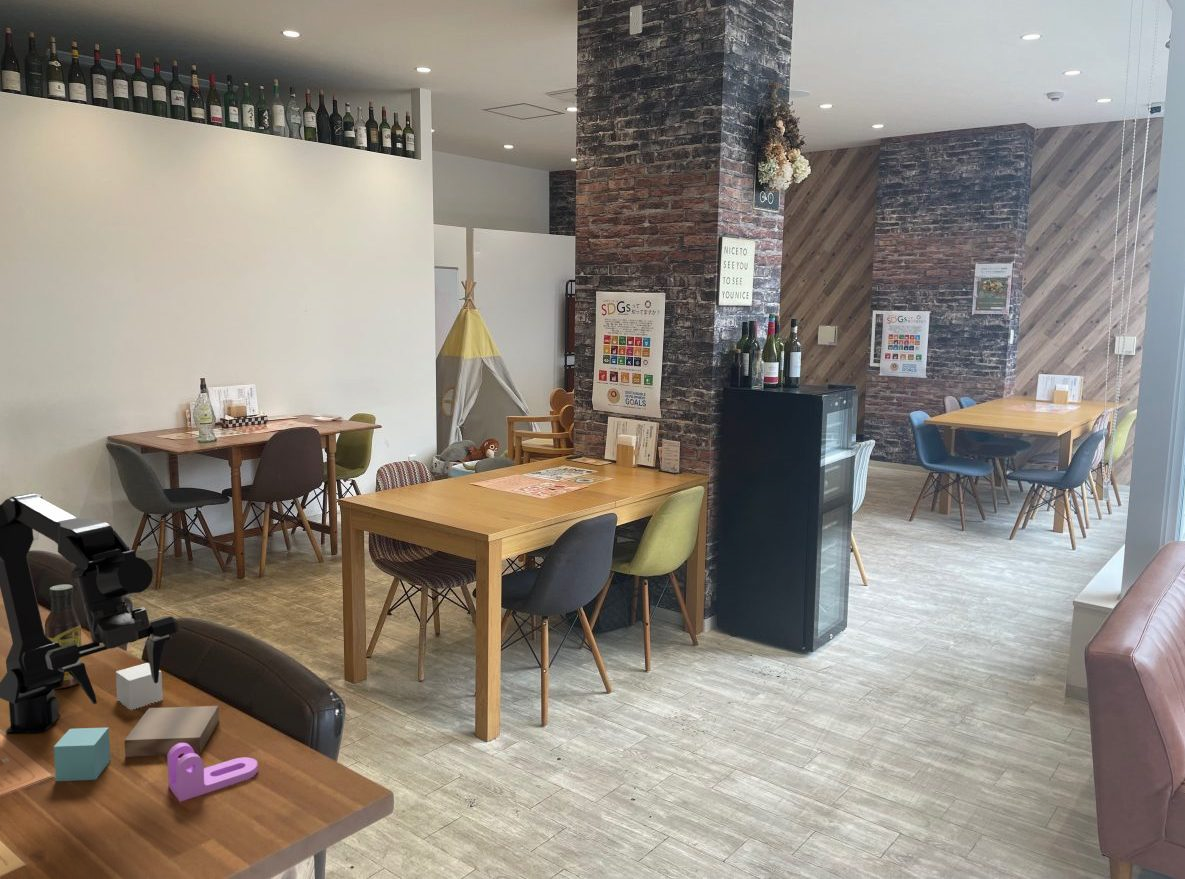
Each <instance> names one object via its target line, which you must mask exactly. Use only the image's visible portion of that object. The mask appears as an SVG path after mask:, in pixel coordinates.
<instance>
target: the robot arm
mask: <svg viewBox="0 0 1185 879" xmlns="http://www.w3.org/2000/svg"><path fill="white" fill-rule="evenodd" d="M33 530H34V531H36V532H38V533H39V534H40V535H43V536H44V537H46V538H47V539H50V540H52V541H53V542H54V543H56V544H57V553H58V554H60V555H61V557H62V558H64V559H65V560H66V561H68V562H69V563H70V564H72V565H74V566H75V567H74V569H73V570H71V573H70V575H69V577H70V579H71V580H73V579H77V583H78V587H79V592H80V595H81V600H82V603H83V607H84V612H85V616H86V620H87V624H88V629H89V632H90V637H91V640H92V642H88V643H86V644H81V646H78V647H77V645H76V644H70V645H66V646H63V647H61V646H60V645H59V643H58V642H56V643H53V642H52V641H51V640H50V639H49V638H47V637H46V636H45V628H44V626H43V621H42V618H41V617H42V616H41V613H40V609H39V604H38V603H39V602H38V600H37V595H36V591H35V590H36V589H35V586H34V582H33V576H32V573H31V568H30V564H29V560H28V554H29V552H30V550H31V548H32V544H34V532H33ZM153 576H154V574H153V569H152V566H150V564H149V563H148V562H147V561H146V560H145V559H143V558H141V557H138V556H137V555H136V550H134V549H133V550H132V549H130V546H129V545H128V544H127V543H126V542H125V541H124V540H123V539H122V538H121V536H120V535H119V534H118V533H117V531H116V530H115V529H114V527H113V526H112V525H110V523H107V522H105V521H101V520H98V519H88V518H78V517H76V516H75V515H73V514H70V512H67V511H65V510H64V509H62V508H60V507H58V506H57V505H54V504H52V503H51V502H48V501H46V499H44V498H43V496H42V495H41V494H40V493H33V492H32V493H31V492H30V493H27V494H20V495H13V496H9V498H7V499H5V500H4V501H3V502H2V503H0V592H1V593H0V594H1V597H2V598H1V599H2V601H3V602H2V603H3V606H4V610H5V614H6V619H7V624H8V627H9V633H10V635H11V641H12V645H11V647H10V650H9V652H8V655H7V657H6V659H5V665H6V673H5V674H4V676H3V677H2V679H1V680H0V699H1V700H3V701H6V702H8V709H9V710H8V711H9V724H10V726H8V727H7V729H6V730H5V733H6V734H23V733H24V734H25V733H44V732H46V731H47V730H48V729H50V727H52V725H53V724H54V723H55V722H56V721H57V720H58V719H59V718H60V717H61V714H60V712H59V702H58V697H57V695H55V690H56V688H59V689H61V688H60V687H62V685H63V680H64V675H65V672H68V673H69V674H70V675H71V676H72V677H73V678H74V679H75V680H76V681H77V682H78V683H77V684H78V685H79V686H80V687H81V689H82V690H83V691H84V693H85V695H87V697H88V699H89V700H90V702H91V703H92V704H93V705H97V704H98V701H97V697H96V692H95V691H94V688H93V685H92V683H91V680H90V678H89V676H88V672H87V670H86V664H85V663H84V662H82V663H80V657H82V658H83V657H84V658H85V657H86V656H89V655H94V654H96V653H101V652H104V651H106V650H109V649H111V650H112V649H115V648H118V647H120V646H122V645H126V644H128V643H135V642H137V641H140V640H142V639H146V638H148V640H145V647H146V650H147V651H146V652H147V657H148V663H149V664H150V670H151V675H152V678H153V681H154V683H158V678H159V670H160V668H161V660H162V659H161V658H162V655H163V650H164V647H165V645H166V643H167V642H168V641H170V640H172V635H173V634H175V633H178V632H180V629H179V624H178V621H177V619H176V618H175V617H173V616H171V615H170V616H162V617H159V618H155V619H151V620H150V619H149V615H148V612H147V609H146V608H145V607H144V606H142V607H139V608H135V609H132V610H131V612H129V610H128V609H127V605H126V601H125V598H124V597H125V596H129V595H134V594H138V593H142V592H144V591H146V590H147V589H148V588H149V587H150V586H151V583H152V581H153ZM101 643H102V644H101Z"/></svg>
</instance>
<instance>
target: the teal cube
mask: <svg viewBox="0 0 1185 879" xmlns="http://www.w3.org/2000/svg"><path fill="white" fill-rule="evenodd" d="M110 742H111V741H110V728H109V727H88V728H87V727H86V728H85V727H82V728H80V727H79V728H69V729H68V731H66V733H64V734H63V736H62V737H61V738H60V739H59V740H58V741H57V742H56V743H55V744H54V746H53V755H54V756H53V758H54V769H55V770H54V773H55V774H54V775H55V782H71V781H93V780H97V779H98V778H99V776H100V775H101V774H102V772H103V771H104V770H105V769H106V768H107V766H108V764H110V762H111V747H110V746H111V744H110Z"/></svg>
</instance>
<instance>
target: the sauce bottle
mask: <svg viewBox="0 0 1185 879" xmlns="http://www.w3.org/2000/svg"><path fill="white" fill-rule="evenodd" d="M73 595H74V586H73V585H71V584H57V585H54V586H51V587H50V588H49V596H50V611H49V613H48V616H47V617H46V619H45V622H44V633H45V636H46V637H47V638H49V639H50V640H51V641H52V642H53V643H56V642H58V643H59V645H60V646H61V647H63V646H66V645H70V644H76V645H77V647H78V646H82V625H81V623H80V620H79V618H78V616H77V614H76V611H75V608H74V602H73V601H74V600H73V597H74V596H73ZM80 663H83V657H80ZM78 684H79V683H78V682H77V681H76V680H75V679H74V678H73V677H72V676H71V675H70V674H69V673H68V672H65V675H64V680H63V685H62V687H60V688H56V689H64V688H70V687H72V686H73V687H74V686H76V685H78ZM56 689H55V690H56Z"/></svg>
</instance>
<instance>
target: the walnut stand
mask: <svg viewBox="0 0 1185 879" xmlns="http://www.w3.org/2000/svg"><path fill="white" fill-rule="evenodd" d="M219 710H220V708H219V705H205V706H202V705H201V706H200V705H199V706H174V707H149V708H148V709H147V710H146V711H145V713H144V714H143V715H142V716H141V718H140V719H139V721H138V722H137V723H136V724H135V725H134V727H133V728H132V730H131V731H130V732H129V734H128V735H127V736H126V737H125V739H124V753H125V757H127V758H130V757H132V758H133V757H151V756H153V757H154V756H167V755H168V752H169V750H170V749H171V748H172V747H173V746H174V745H176V744H178V743H187V744H189V745H190V746H191V747H192V749H193V750H194V753H195V754H197V755H199V754H202V751H203V749H204V748H205V747H206V745H207V743H208V741H209V739H210V738H211V736H212V734H213V733H214V730H215V729H216V727H217V725H218V724H219V722H220V719H219V718H220V717H219V715H220V714H219ZM182 755H184V753H182ZM179 756H181V754H180V755H179Z"/></svg>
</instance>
